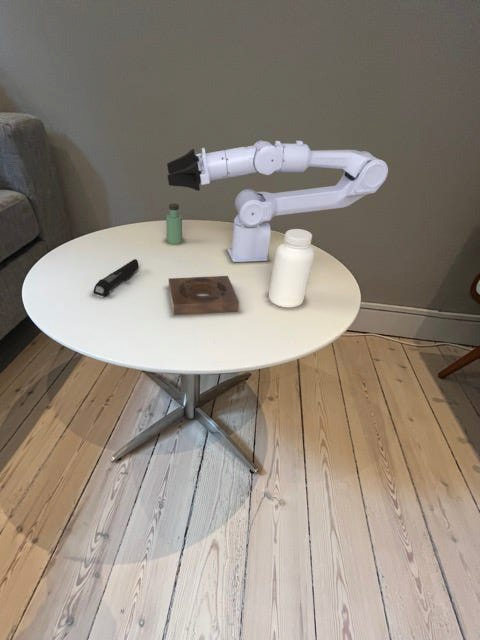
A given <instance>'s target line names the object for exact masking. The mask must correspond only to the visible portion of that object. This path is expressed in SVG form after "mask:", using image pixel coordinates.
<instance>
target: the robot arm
mask: <svg viewBox="0 0 480 640" xmlns="http://www.w3.org/2000/svg"><path fill="white" fill-rule="evenodd" d="M166 165H167V172H168V174H167V181H168V185H169V186H170V187H171V186H172V187H182V188H187V189H188V188H189V189H191V190H194V191H201V189H200V185H201V186H204V185H209V184H211V182H212V181H218V180H225V179H228V178H234V177H240V176H241V177H242V176H246V175H248V174H249V175H250V174H256V173H257V172H258V173H259V174H262V175H266V176H269V175H271V174H273V173H275V172H276V173H304V172H305V171H306V170H308V168H310V167H311V168H323V169H325V168H326V169H336V170H337V169H338V170H343V174H342V176H341V178H340V180H339V181H338V182H337V183H336V185H330V186H323V187H314V188H313V187H312V188H306V189H298V190H289V191H281V192H268V191H255V190H253V189H250V188H249V189H248V188H247V189H243V190H241V191H240V192H238V194H237V195H236V197H235V200H234V207H235V209H236V211H237V215H236V216H235V217H234V219H233V229H232V230H233V231H232V240H231V248H227V252H228V254H229V257H230V258H231V261H232V262H233V263H246V262H247V263H248V262H267V261H268V260H269V259H268V255H269V248H270V242H271V235H272V234H271V225H270V222H269V221H272V219H273V218H275V217H276V216H284V215H293V214H302V213H309V212H318V211H326V210H334V209H342V208H346V207H349V206H350V205H352V204H353V203H355V202H357V201H358V200H360V199H362V198H364V197H365V196H367V195H370V194H375V193H376V192H377V191H378V190H379V189H380V187H381V186H382V185H383V184H384V182H385V181H386V180H387V177H388V174H389V167H388V164H387V163H386V162H385V161H384V160H382V159H379V158H378V157H375V156H374V155H372V153H370V152H369V151H364V150H363V151H360V150H357V149H324V150H323V149H321V150H311V148H310V147H309V145H308V144H307V143H304V141H302V140H296V141H295V143H281V141H280V140H275V142H274V144H272V143H271V142H270V141H266V140H258V141H257V142H255V143H254V144H253V145H248V146H240V147H234V148H227V149H223V150H218V151H217V150H216V151H212V152H206V148H205V147H201V152H200V153H195V149H194V148H192V149H190V150H189V151H188V152H187V153H185V154H184V155H182V156H180V157H178V158H176V159H174V160H172V161H169V162H167V163H166Z"/></svg>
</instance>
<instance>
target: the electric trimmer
mask: <svg viewBox="0 0 480 640" xmlns="http://www.w3.org/2000/svg"><path fill="white" fill-rule="evenodd" d="M139 267H140V264H139V261H138V259H136V258H133V259H132V260H130V261H129V262H127V263H126V264H124V265H122V266H121V267H120V268H118V269H116V270H115V271H113V272H111V273H109V274H108V275H106V276H105V277H103V278H102V279H99V280H98V282H96V284H95V285H94V288H93V294H94V295H95V296H98V297H101V298H104V297H107V296H108V295H109V294H110V291H111V290H113V289H114V288H115V287H116V286H117V285H119V284H120V283H122V282H124V281H129V279H130V278H131V277H132V276H133V275H134V274H135V273H136V272H137V271H138V269H139Z"/></svg>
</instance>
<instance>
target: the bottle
mask: <svg viewBox="0 0 480 640" xmlns="http://www.w3.org/2000/svg"><path fill="white" fill-rule="evenodd" d="M168 209H169V214H167V215H166V216H165V221H166V223H165V225H166V226H165V227H166V242H167V244H171V245H179V244H181V243H182V242H183V215H182V214H179V209H180V206H179V204H178V203H173V202H172V203H170V204H169V205H168Z"/></svg>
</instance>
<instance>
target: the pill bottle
mask: <svg viewBox="0 0 480 640" xmlns="http://www.w3.org/2000/svg"><path fill="white" fill-rule="evenodd" d="M312 239H313V234H312V233H311V232H310V231H308V230H306V229H301V228H292V229H288V230H286V232H285V233H284V242H282V243H281V244H279V245H278V247H277V248H276V250H275V255H274V261H273V266H272V273H271V278H270V283H269V288H268V299H269V301H270V303H272V304H274V305H276V306H279V307H283V308H296V307H299V306H301V305H302V303H303V302H304V300H305V296H306V292H307V288H308V284H309V280H310V276H311V272H312V269H313V264H314V260H315V250H314V248H313V247H312V246H311V244H312Z"/></svg>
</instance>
